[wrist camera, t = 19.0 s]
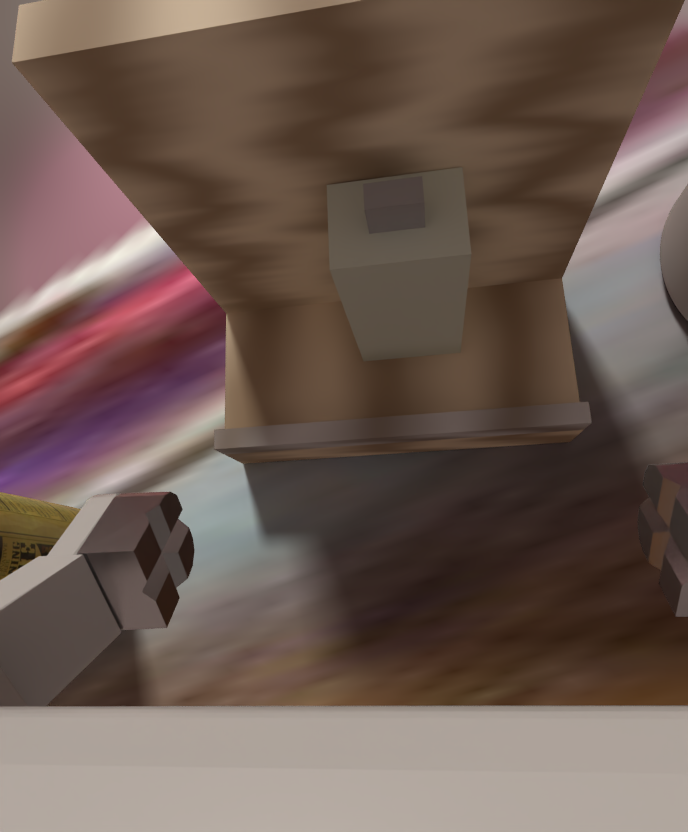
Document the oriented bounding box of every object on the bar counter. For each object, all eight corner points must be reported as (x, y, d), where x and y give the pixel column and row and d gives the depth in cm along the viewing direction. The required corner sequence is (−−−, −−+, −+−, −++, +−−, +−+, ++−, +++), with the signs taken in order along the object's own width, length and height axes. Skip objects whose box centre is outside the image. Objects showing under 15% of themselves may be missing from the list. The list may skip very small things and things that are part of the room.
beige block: (454, 290, 31) (464, 137, 20) (460, 352, 30) (474, 230, 19) (360, 300, 31) (318, 158, 20) (363, 361, 30) (321, 248, 19)
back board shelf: (546, 270, 33) (695, -126, 14) (570, 441, 31) (790, 245, 12) (243, 303, 36) (18, 5, 17) (243, 463, 33) (-23, 331, 14)
